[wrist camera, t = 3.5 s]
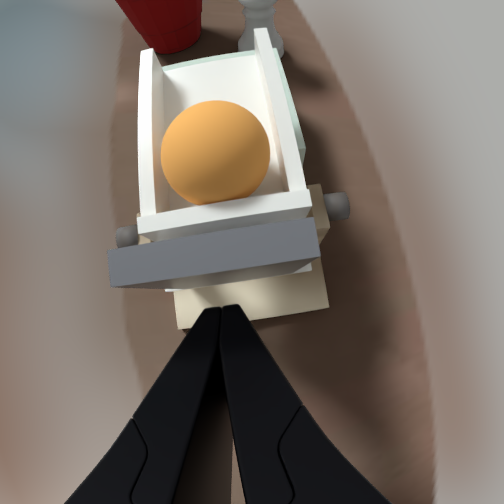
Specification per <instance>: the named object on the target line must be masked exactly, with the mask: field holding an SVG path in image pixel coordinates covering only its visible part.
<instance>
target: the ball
mask: <svg viewBox="0 0 504 504" xmlns="http://www.w3.org/2000/svg"><path fill="white" fill-rule="evenodd" d="M269 162H270V144H269V139H268V136H267V133H266V131H265V129H264V127H263V126H262V124H261V122H260V121H259V120H258V119H257V117H255V116H254V115H253V114H252V113H251V112H250V111H248V110H247V109H245V108H244V107H242V106H240V105H238V104H235V103H232V102H228V101H221V100H212V101H205V102H201V103H198V104H195V105H193V106H191V107H189V108H187V109H186V110H184V111H183V112H181V113H180V114H179V115H178V116H177V117H176V118H175V119H174V120H173V121H172V123H171V124H170V125H169V127H168V129H167V131H166V132H165V135H164V137H163V141H162V145H161V165H162V169H163V172H164V175H165V177H166V179H167V181H168V183H169V184H170V186H171V187H172V188H173V189H174V190H175V192H176V193H177V194H179V195H180V196H181V197H182V198H184V199H185V200H187V201H189V202H191V203H193V204H196V205H199V206H200V205H206V204H212V203H218V202H224V201H230V200H236V199H242V198H247V197H248V196H250V195H251V194H252V193H253V192H254V191H255V190H256V189H257V188H258V187H259V185H260V184H261V182H262V181H263V179H264V177H265V175H266V173H267V170H268V167H269Z"/></svg>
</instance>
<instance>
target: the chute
mask: <svg viewBox="0 0 504 504" xmlns="http://www.w3.org/2000/svg"><path fill="white" fill-rule="evenodd" d="M254 44H255V55H250V56H242V57H235V58H228V59H222V60H216V61H211V62H205V63H200V64H195V65H190V66H185V67H181V68H176V69H172V70H168V71H163V69H162V67H161V65H160V63H159V61H158V58H157V56H156V54H155V52H154V50H153V48H151V49H147V50H144V51H141V57H140V74H139V97H138V169H139V194H140V211H141V217H137V225H138V234H139V235H141V236H143V237H146V238H148V239H150V240H152V241H154V242H151V243H145V244H139V245H134V246H128V247H122V248H117V249H112V250H108V251H107V253H108V266H109V276H110V286H111V287H118V288H148V289H165V292H171V291H179V290H186V289H194V288H201V287H208V286H215V285H222V284H229V283H236V282H243V281H249V280H256V279H263V278H269V277H276V276H282V275H288V274H295V273H301V272H307V271H311V270H312V267H311V262H312V261H314V260H315V259H317V258H319V257H320V256H321V255H320V249H319V243H318V237H317V232H316V226H315V221H314V217H309V218H306V216H307V215H308V213H309V211H310V209H311V207H312V202H311V197H310V192H309V189H307V188H306V183H305V179H304V174H303V169H302V164H301V160H300V155H299V151H298V146H297V142H296V138H295V133H294V129H293V125H292V121H291V116H290V112H289V108H288V104H287V100H286V96H285V92H284V88H283V85H282V81H281V77H280V73H279V70H278V66H277V62H276V59H275V55H274V52H273V48H272V45H271V41H270V38H269V34H268V31H267V28H256V29H254ZM212 100H221V101H228V102H232V103H235V104H238V105H240V106H242V107H244V108H245V109H247V110H248V111H250V112H251V113H252V114H253V115H254V116H255V117H257V119H258V120H259V121H260V122H261V124H262V126H263V127H264V129H265V131H266V133H267V136H268V139H269V144H270V162H269V167H268V170H267V173H266V175H265V177H264V179H263V181H262V182H261V184H260V185H259V187H258V188H257V189H256V190H255V191H254V192H253V193H252V194H251V195H250V196H248V197H247V198H242V199H236V200H230V201H224V202H218V203H212V204H206V205H200V206H199V205H196V204H193V203H191V202H189V201H187V200H185V199H184V198H182V197H181V196H180V195H179V194H177V193H176V192H175V190H174V189H173V188H172V187H171V186H170V184H169V183H168V181H167V179H166V177H165V175H164V172H163V169H162V165H161V145H162V141H163V137H164V135H165V132H166V131H167V129H168V127H169V125H170V124H171V123H172V121H173V120H174V119H175V118H176V117H177V116H178V115H179V114H180V113H181V112H183V111H184V110H186V109H187V108H189V107H191V106H193V105H195V104H198V103H201V102H205V101H212Z"/></svg>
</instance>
